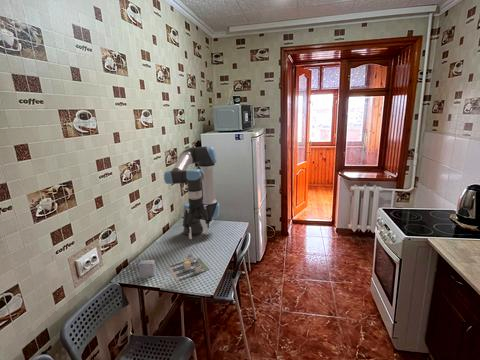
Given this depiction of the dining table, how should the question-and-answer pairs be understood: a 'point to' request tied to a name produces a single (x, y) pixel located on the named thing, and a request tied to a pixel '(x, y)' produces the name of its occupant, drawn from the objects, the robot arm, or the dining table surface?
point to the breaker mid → (187, 265)
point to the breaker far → (190, 258)
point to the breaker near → (198, 268)
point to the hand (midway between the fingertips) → (198, 235)
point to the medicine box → (147, 268)
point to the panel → (176, 276)
